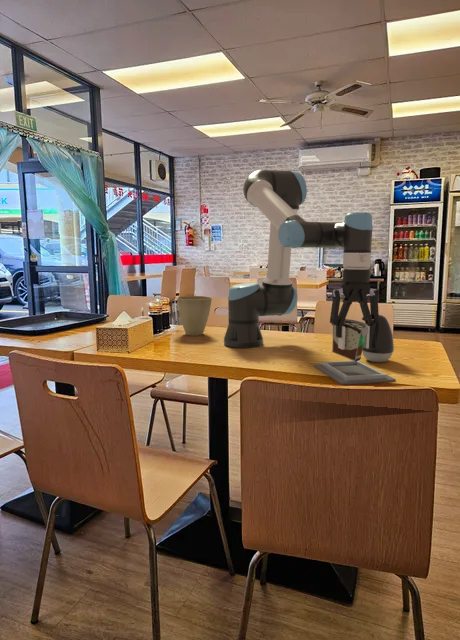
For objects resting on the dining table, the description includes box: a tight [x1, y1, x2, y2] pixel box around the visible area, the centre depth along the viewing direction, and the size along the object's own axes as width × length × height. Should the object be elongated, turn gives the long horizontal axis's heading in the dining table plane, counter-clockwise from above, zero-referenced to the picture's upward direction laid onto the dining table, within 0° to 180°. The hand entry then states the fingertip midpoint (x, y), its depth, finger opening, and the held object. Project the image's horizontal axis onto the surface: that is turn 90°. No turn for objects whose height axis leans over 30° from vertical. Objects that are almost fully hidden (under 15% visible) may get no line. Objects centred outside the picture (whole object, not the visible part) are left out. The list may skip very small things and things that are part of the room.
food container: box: [331, 318, 369, 361], centre depth 130 cm, size 12×6×10 cm, turn 30°
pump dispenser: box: [361, 314, 395, 363], centre depth 145 cm, size 10×10×15 cm
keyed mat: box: [313, 360, 397, 386], centre depth 131 cm, size 20×16×2 cm
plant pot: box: [176, 295, 213, 337], centre depth 192 cm, size 15×15×16 cm
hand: (353, 347), depth 130 cm, fingers closed on food container, 7 cm apart
